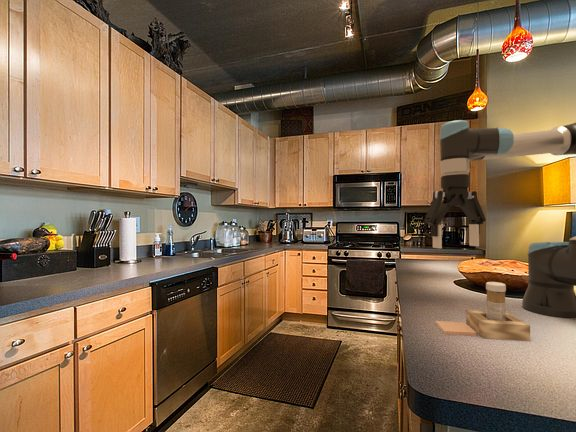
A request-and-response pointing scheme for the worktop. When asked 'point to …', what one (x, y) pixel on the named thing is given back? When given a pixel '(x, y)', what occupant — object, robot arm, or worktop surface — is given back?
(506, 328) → the socket block
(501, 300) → the sprinkles bottle
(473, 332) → the terracotta tile
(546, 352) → the worktop surface
